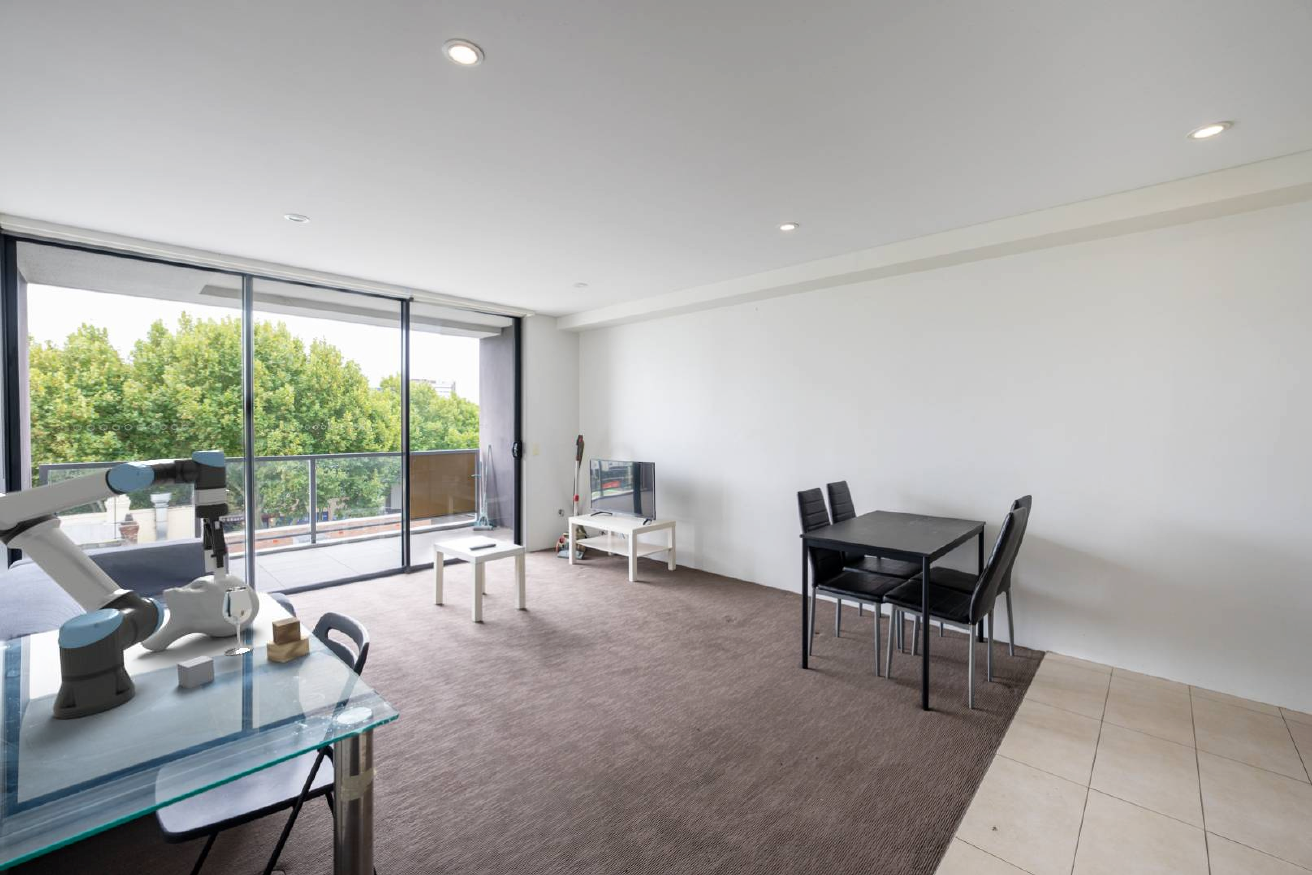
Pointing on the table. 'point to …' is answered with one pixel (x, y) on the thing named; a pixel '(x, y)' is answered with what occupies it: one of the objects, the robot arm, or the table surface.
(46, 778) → the table surface
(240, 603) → the wineglass
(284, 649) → the base block
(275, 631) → the walnut block
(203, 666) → the grey block
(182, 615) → the alien head
